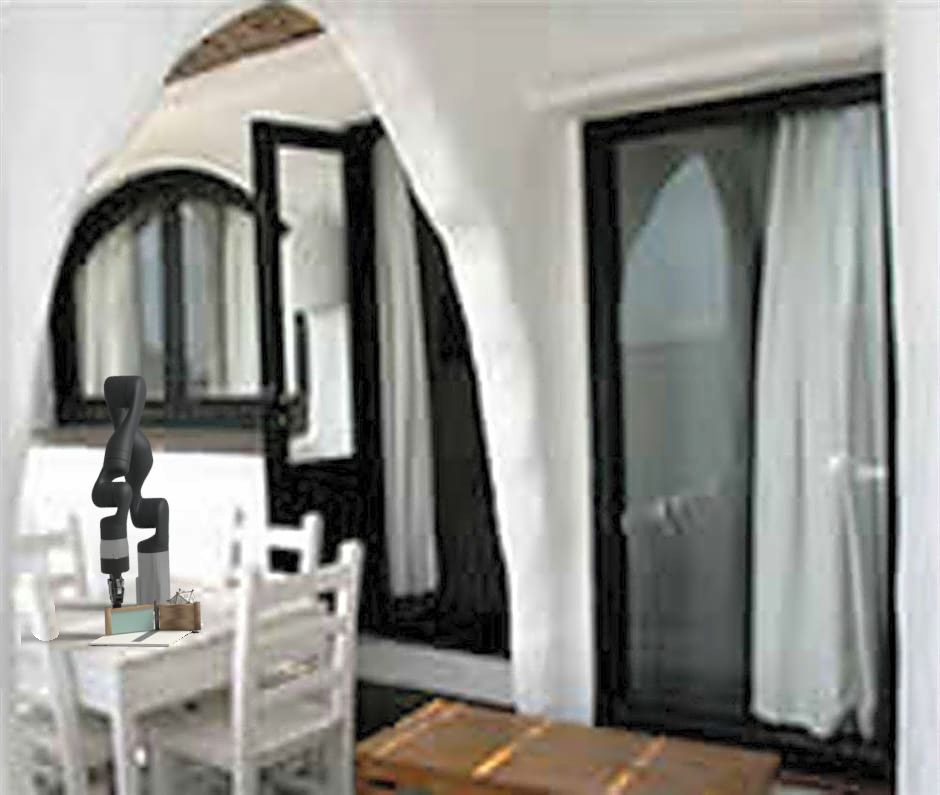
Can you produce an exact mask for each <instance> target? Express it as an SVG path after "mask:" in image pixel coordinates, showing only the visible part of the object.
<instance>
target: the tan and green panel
mask: <svg viewBox="0 0 940 795" xmlns="http://www.w3.org/2000/svg"><path fill="white" fill-rule="evenodd" d="M153 608H154V605H153V604H149V605H140V606H137V605H131V606H121V608H113V609H112V606H105V607H104V627H105V629H104V631H105V634H104V635H110V634H117V633H125V632H133V631H142V630H150V629H154V623H155V615H154V610H153Z"/></svg>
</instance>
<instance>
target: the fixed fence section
mask: <svg viewBox="0 0 940 795" xmlns="http://www.w3.org/2000/svg"><path fill="white" fill-rule="evenodd" d="M200 605H201V602H200V601H197V602H193V604H159V600H155V601H154V610H153V614H154V623H155V630H159V629H160V630H198V631H201V630H202V626H201V623H202V622H201V621H202V619H201V615H202V614H201V606H200ZM159 623H160V627H159ZM198 631H197V632H198Z"/></svg>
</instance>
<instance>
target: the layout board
mask: <svg viewBox="0 0 940 795" xmlns="http://www.w3.org/2000/svg"><path fill="white" fill-rule="evenodd" d="M201 625H203V626H204V623H203V622H201ZM159 627H160V622H159ZM191 631H193V632H198V630H160V629H159V630H155V622H154V629H150V630H142V631H133V632H125V633H117V634H110V635H106V634H104V635H102V636H101V637H99V638H96V639H95V640H93V641H91V642H89V643H88V646H89V645H107V646H106V647H171V646H172V645H174V644H175V643H177V642H179V641H180V640H182V639H183V638H185V637H186V636H185V635H186V634H188V633H189V632H191ZM191 633H192V632H191ZM188 635H189V634H188ZM184 636H185V637H184ZM182 637H183V638H182ZM181 638H182V639H181ZM179 639H180V640H179ZM178 640H179V641H178ZM176 641H177V642H176ZM173 643H174V644H173Z"/></svg>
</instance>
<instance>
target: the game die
mask: <svg viewBox="0 0 940 795" xmlns="http://www.w3.org/2000/svg"><path fill="white" fill-rule="evenodd" d="M194 591H195V590H194V589H193V588H192V589H191V590H182V589H181V588H178V591H175V594H174V596H173V597H172V598H171V600H166V601H167V602H170V604H193V602H198V601H197V600H196V597H195V595H194ZM200 607H202V605H201V604H200Z"/></svg>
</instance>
